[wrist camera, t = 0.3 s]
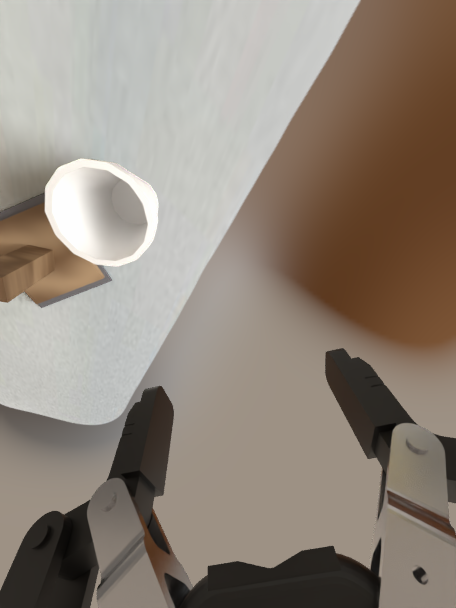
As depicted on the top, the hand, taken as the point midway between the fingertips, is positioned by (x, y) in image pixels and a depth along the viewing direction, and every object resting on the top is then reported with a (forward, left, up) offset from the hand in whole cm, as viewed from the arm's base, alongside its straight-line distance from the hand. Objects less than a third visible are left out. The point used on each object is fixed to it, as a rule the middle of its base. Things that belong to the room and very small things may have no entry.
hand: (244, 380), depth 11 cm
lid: (-6, -25, -29) cm, 38 cm away
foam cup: (-8, -9, -29) cm, 32 cm away
